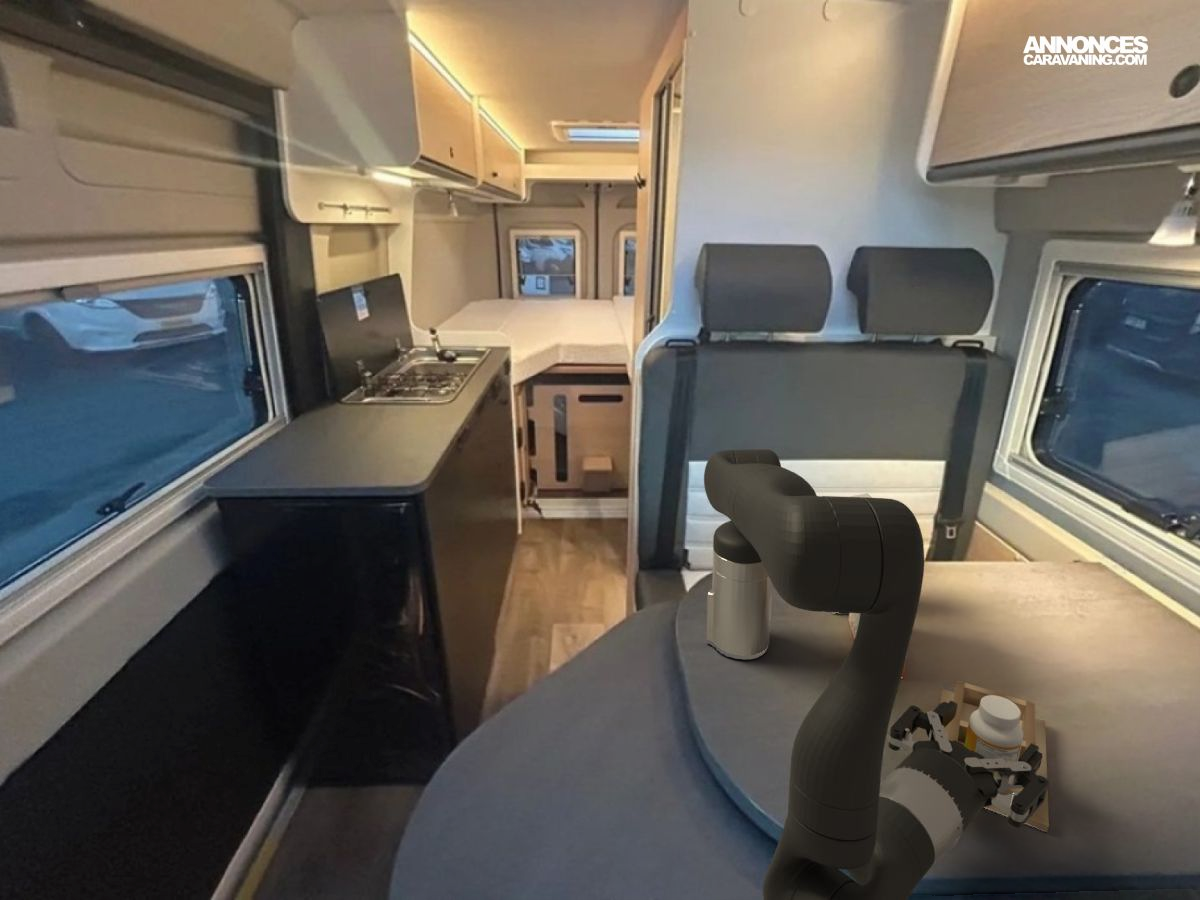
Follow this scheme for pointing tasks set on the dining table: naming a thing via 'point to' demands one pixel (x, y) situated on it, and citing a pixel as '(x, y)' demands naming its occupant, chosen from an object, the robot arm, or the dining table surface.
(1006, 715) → the supplement bottle
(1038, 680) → the dining table surface
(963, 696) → the tray
